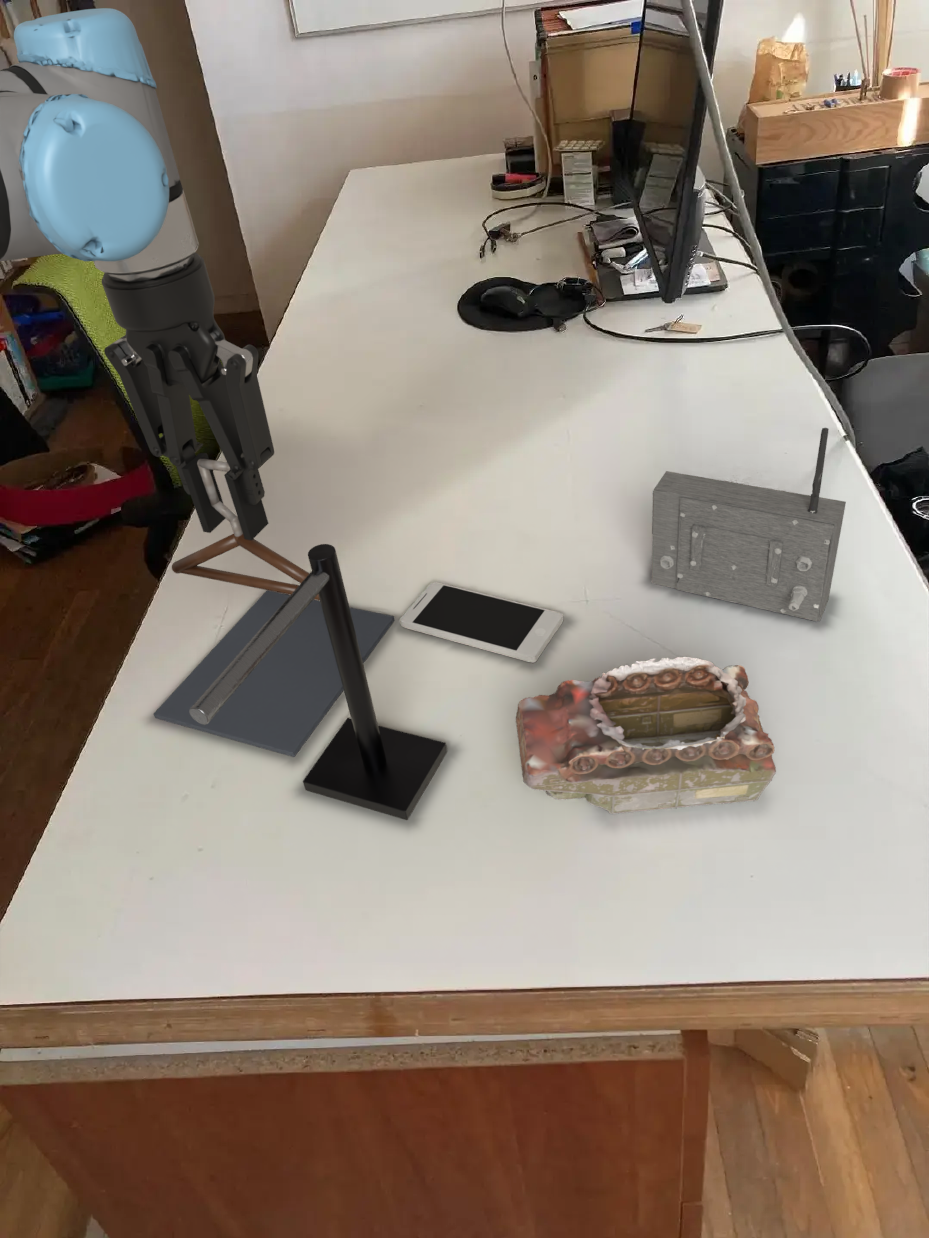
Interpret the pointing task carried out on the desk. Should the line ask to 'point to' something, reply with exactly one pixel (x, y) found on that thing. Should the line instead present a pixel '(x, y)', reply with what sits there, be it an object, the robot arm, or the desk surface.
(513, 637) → the smartphone
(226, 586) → the desk surface
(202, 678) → the felt mat
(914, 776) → the desk surface
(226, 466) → the hanger
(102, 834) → the desk surface
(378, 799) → the rail stand
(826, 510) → the electronic device
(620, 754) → the decorative box
